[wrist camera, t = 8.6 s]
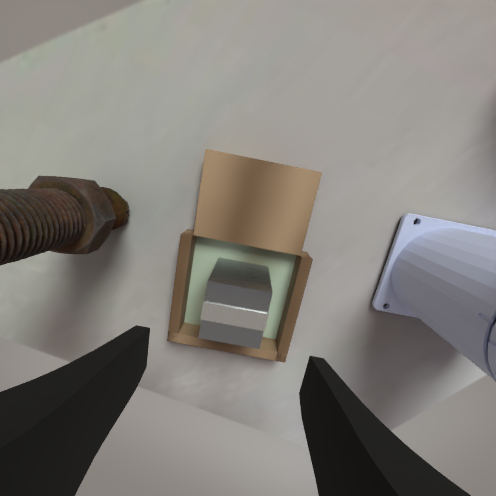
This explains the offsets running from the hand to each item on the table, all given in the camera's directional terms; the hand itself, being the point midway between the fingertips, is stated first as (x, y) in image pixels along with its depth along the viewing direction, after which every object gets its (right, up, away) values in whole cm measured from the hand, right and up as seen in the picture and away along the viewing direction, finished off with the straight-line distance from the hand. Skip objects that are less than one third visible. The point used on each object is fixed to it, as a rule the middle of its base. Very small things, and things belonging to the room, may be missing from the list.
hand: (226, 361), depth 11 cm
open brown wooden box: (+1, +4, +9) cm, 10 cm away
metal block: (0, +2, +9) cm, 10 cm away
